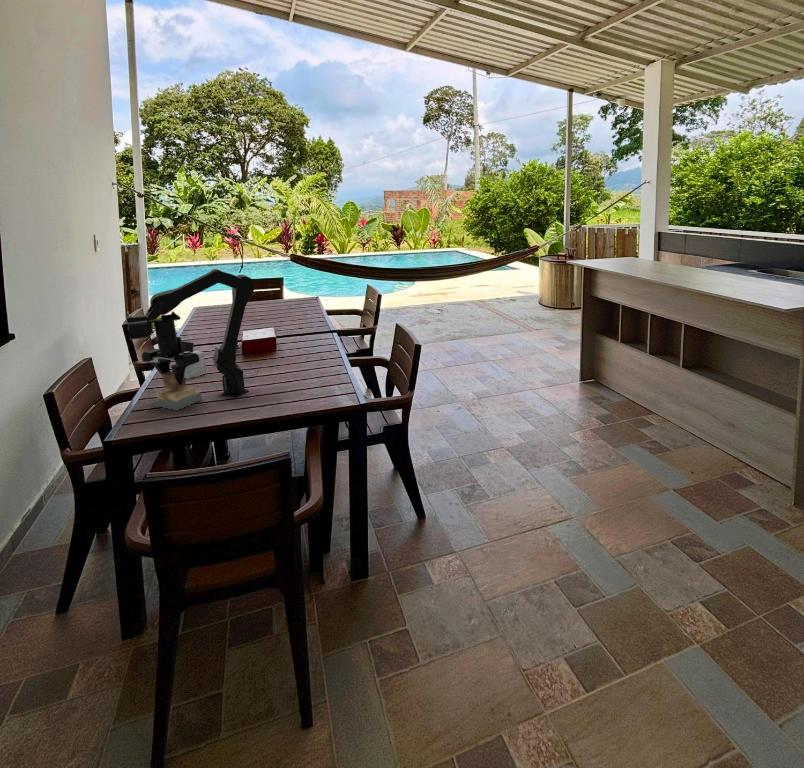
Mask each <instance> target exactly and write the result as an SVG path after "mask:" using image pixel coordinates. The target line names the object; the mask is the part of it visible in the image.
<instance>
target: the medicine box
mask: <svg viewBox="0 0 804 768" xmlns="http://www.w3.org/2000/svg"><path fill="white" fill-rule="evenodd" d="M190 353H192V352H190ZM193 353H196V354H198V355H199V360H200V362H197V363H195V364H192V365H189V366H187V367H186V369H185V373H184V376H185V378H186V379H185V380H187V379H188V380H191V379H190V378H192V379H194V378H193V377H195V378H198V377H201V376H200V375H202V376H204V375H203V374H205V375H207V368H206V360H205V353H204V352H203V351H200V350H193ZM197 376H198V377H197Z"/></svg>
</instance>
